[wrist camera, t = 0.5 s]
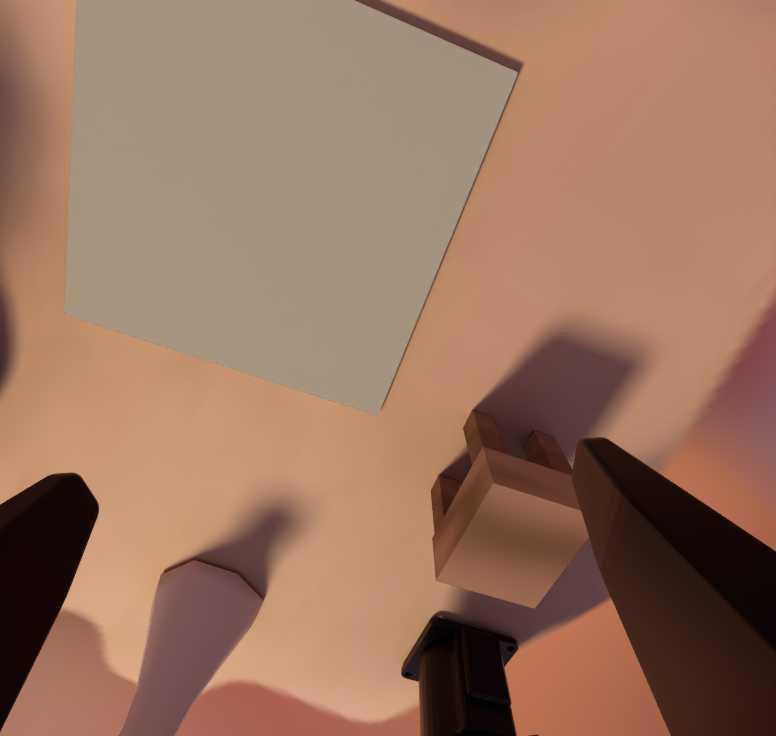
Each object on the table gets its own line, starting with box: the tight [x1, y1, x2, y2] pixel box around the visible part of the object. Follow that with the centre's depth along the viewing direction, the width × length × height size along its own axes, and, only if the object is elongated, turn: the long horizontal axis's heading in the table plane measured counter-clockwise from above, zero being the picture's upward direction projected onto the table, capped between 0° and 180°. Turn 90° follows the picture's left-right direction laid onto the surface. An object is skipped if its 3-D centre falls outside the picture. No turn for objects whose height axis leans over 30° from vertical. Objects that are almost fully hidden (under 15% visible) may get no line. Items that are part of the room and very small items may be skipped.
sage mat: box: [64, 0, 518, 416], centre depth 19 cm, size 16×16×1 cm
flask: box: [119, 560, 263, 736], centre depth 25 cm, size 7×7×10 cm
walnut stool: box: [431, 410, 589, 609], centre depth 21 cm, size 6×5×6 cm
